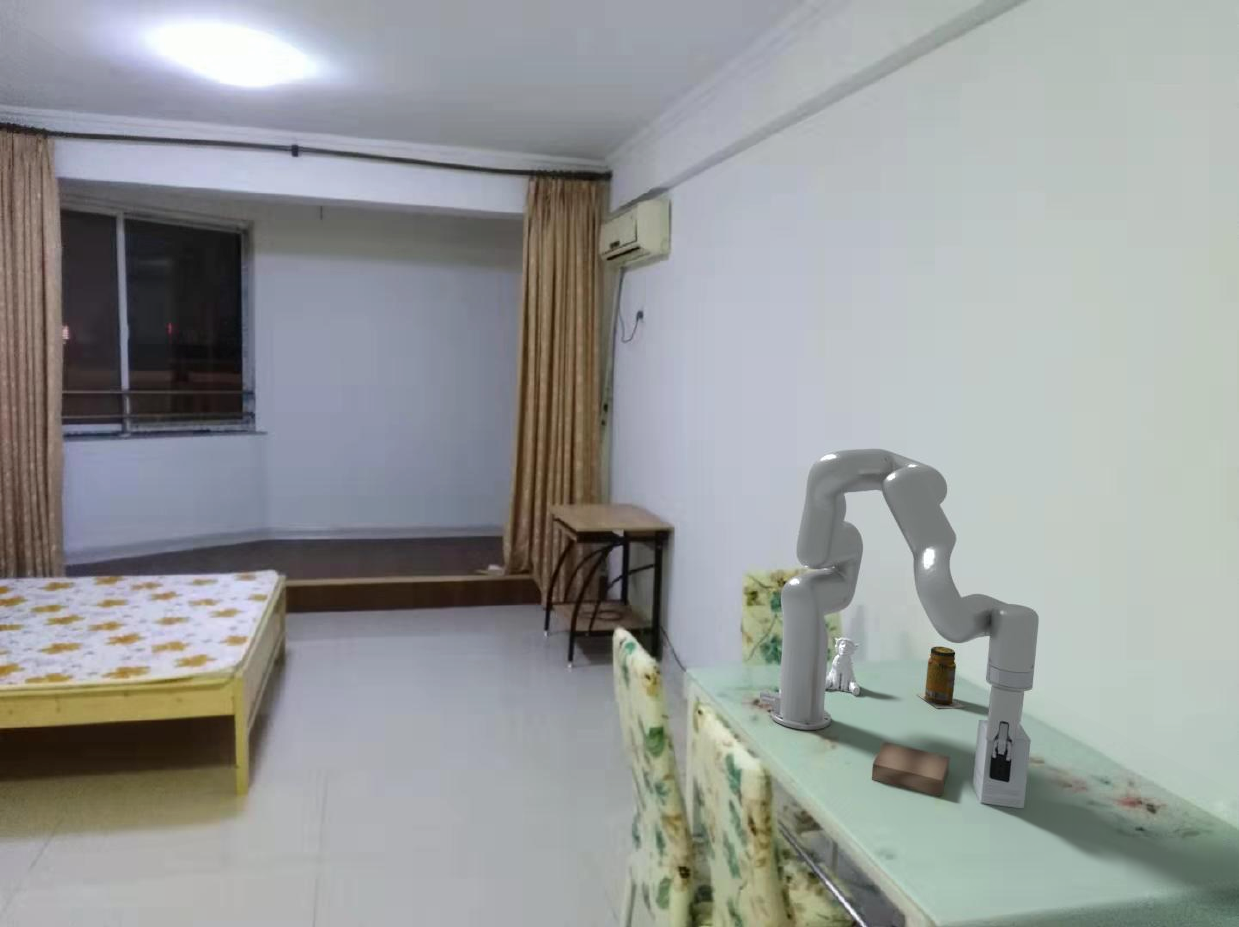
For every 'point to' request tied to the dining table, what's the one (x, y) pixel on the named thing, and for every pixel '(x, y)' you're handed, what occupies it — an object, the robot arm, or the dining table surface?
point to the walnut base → (911, 768)
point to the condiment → (941, 679)
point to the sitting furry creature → (843, 668)
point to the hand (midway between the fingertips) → (1001, 768)
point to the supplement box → (1016, 787)
